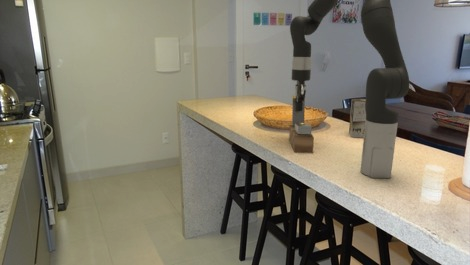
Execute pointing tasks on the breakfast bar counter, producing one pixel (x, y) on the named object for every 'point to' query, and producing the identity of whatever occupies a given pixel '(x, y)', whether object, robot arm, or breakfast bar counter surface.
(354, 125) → the coffee box
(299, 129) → the grey rectangular block
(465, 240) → the breakfast bar counter surface
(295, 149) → the body
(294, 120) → the lever
